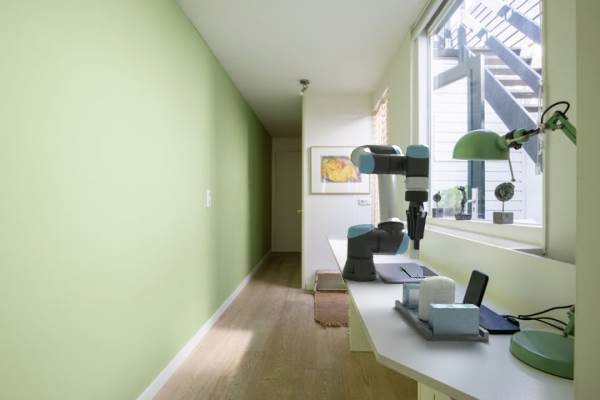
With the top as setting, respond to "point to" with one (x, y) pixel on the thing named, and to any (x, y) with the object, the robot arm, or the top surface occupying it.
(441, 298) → the white rounded slab
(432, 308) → the vise
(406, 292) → the sliding jaw
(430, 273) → the notebook
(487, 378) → the top surface
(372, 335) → the top surface
